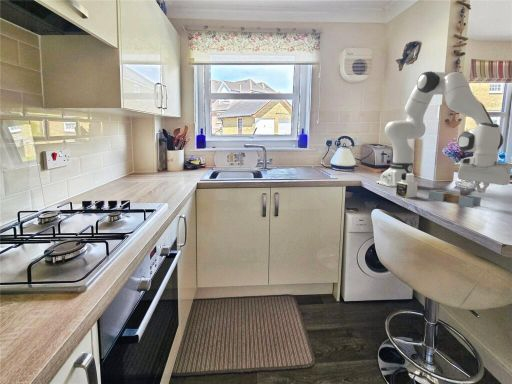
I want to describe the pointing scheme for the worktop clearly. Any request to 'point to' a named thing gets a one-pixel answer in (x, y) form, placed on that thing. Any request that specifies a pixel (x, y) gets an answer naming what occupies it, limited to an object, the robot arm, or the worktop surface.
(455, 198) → the slat
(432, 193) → the cap closed
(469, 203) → the cap open
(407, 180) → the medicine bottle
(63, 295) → the worktop surface
